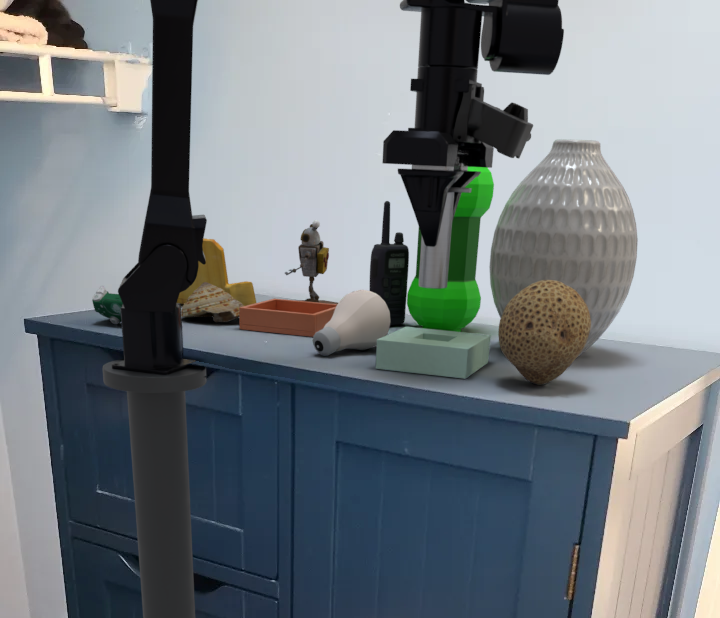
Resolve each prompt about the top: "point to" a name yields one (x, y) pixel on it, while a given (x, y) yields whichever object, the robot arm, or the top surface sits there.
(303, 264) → the robot figurine
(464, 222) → the plastic bottle
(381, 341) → the green square holed block
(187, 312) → the seashell
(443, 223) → the silver cylinder with crossbar
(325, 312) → the dish
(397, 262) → the two-way radio
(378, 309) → the light bulb
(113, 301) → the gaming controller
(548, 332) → the natural sponge
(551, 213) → the vase
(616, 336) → the top surface
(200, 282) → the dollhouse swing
